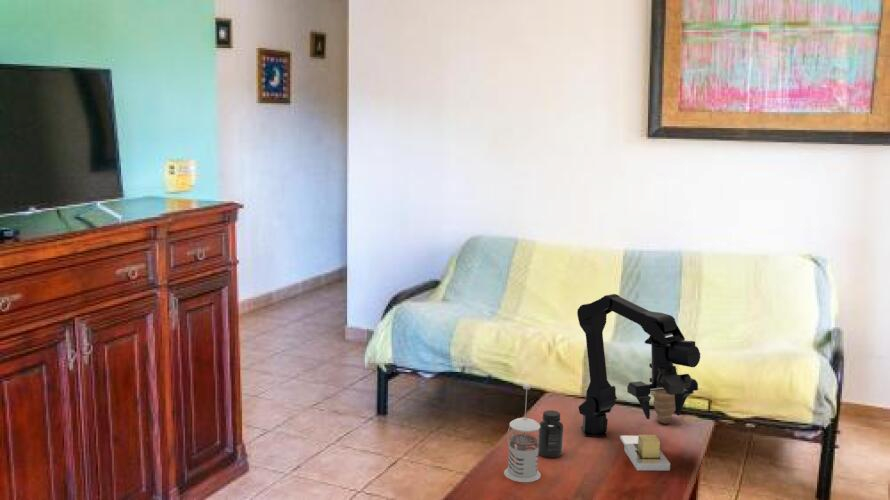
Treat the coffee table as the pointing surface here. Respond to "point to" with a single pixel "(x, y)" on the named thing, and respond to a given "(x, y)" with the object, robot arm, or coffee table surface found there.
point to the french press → (523, 450)
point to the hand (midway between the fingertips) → (663, 417)
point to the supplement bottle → (550, 435)
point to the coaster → (629, 439)
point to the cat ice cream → (664, 405)
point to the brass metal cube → (648, 447)
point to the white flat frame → (646, 463)
